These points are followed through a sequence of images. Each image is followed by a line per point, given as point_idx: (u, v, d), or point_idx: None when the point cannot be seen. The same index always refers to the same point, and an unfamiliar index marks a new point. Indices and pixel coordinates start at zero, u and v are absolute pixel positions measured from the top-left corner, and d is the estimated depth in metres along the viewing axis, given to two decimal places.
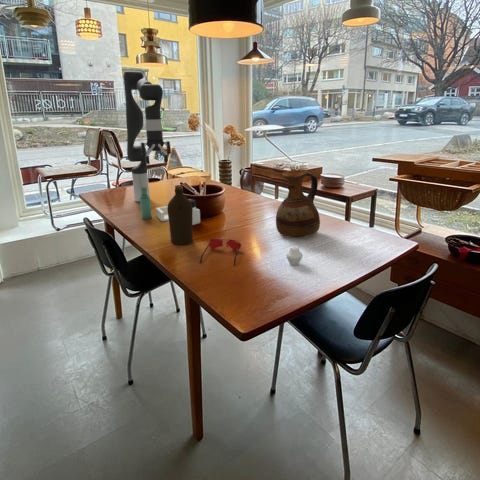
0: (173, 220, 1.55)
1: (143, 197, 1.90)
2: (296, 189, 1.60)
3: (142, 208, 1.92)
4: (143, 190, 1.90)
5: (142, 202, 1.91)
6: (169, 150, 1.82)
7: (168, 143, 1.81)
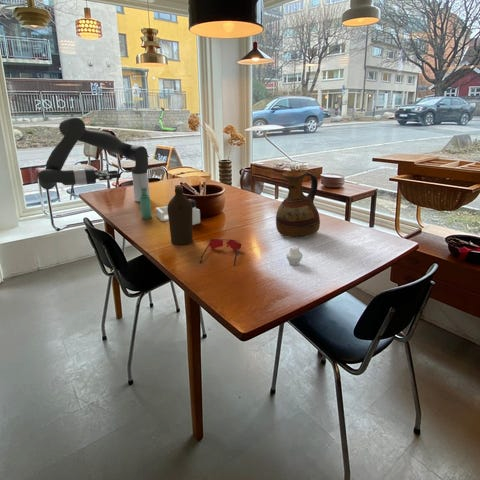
0: (173, 220, 1.55)
1: (143, 197, 1.90)
2: (296, 189, 1.60)
3: (142, 208, 1.92)
4: (143, 190, 1.90)
5: (142, 202, 1.91)
6: None
7: None
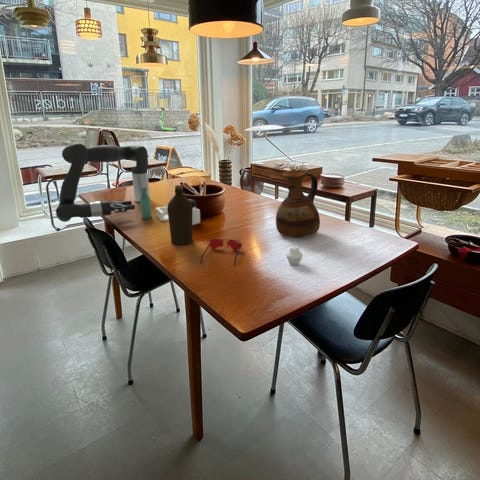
0: (173, 220, 1.55)
1: (143, 197, 1.90)
2: (296, 189, 1.60)
3: (142, 208, 1.92)
4: (143, 190, 1.90)
5: (142, 202, 1.91)
6: None
7: None
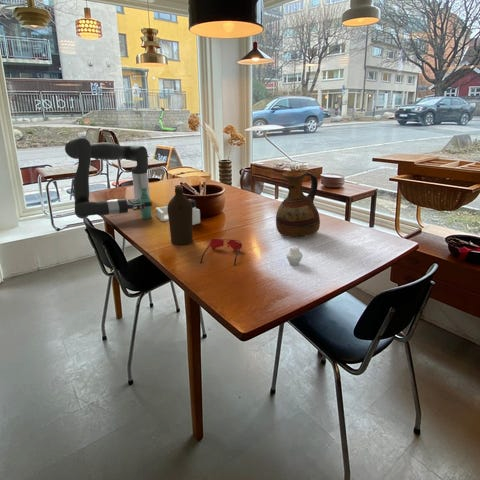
0: (173, 220, 1.55)
1: (143, 197, 1.90)
2: (296, 189, 1.60)
3: None
4: (143, 190, 1.90)
5: (142, 202, 1.91)
6: None
7: None
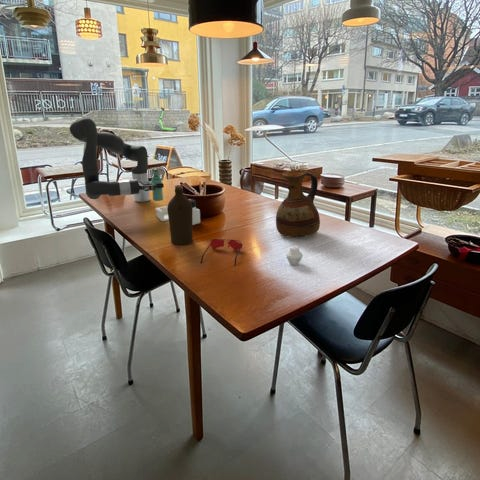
0: (173, 220, 1.55)
1: (155, 178, 1.87)
2: (296, 189, 1.60)
3: None
4: (155, 171, 1.86)
5: (154, 183, 1.88)
6: None
7: None
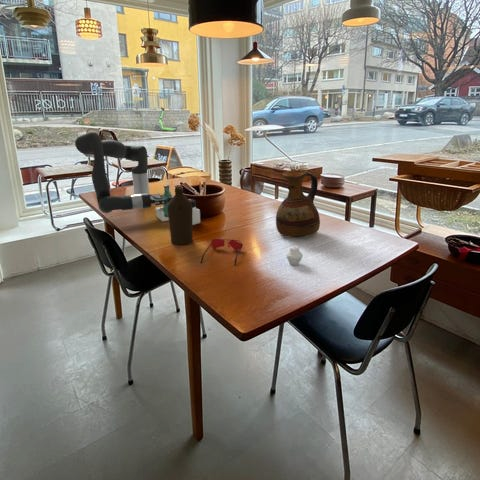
0: (173, 220, 1.55)
1: (166, 195, 1.91)
2: (296, 189, 1.60)
3: (165, 206, 1.92)
4: (166, 188, 1.90)
5: None
6: None
7: None
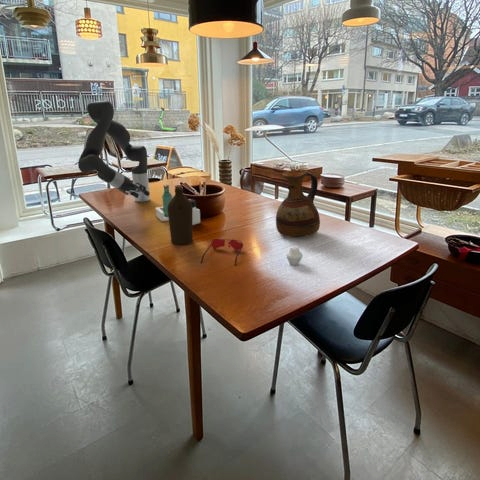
0: (173, 220, 1.55)
1: (165, 194, 1.91)
2: (296, 189, 1.60)
3: (164, 206, 1.93)
4: (165, 187, 1.90)
5: (165, 200, 1.91)
6: (142, 190, 1.84)
7: (136, 187, 1.81)
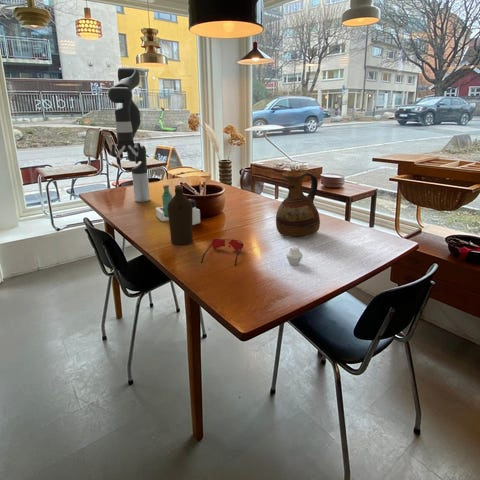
0: (173, 220, 1.55)
1: (165, 195, 1.90)
2: (296, 189, 1.60)
3: (165, 206, 1.92)
4: (165, 188, 1.90)
5: (165, 200, 1.91)
6: (140, 151, 1.87)
7: (139, 144, 1.85)
